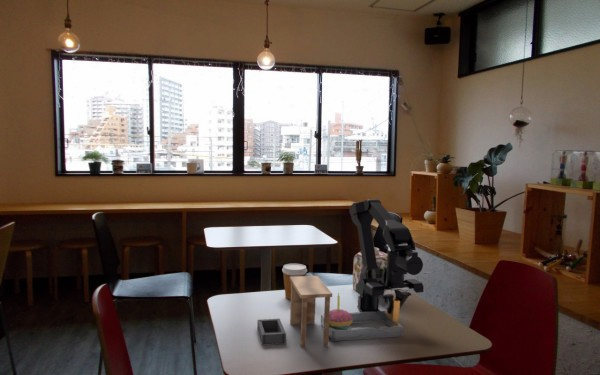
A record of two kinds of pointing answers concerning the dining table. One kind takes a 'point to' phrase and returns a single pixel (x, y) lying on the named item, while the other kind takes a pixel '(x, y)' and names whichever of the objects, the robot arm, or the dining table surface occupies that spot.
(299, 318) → the small wooden table
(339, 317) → the cupcake
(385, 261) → the decorative jar
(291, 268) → the disposable coffee cup
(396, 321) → the grey shallow tray
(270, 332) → the box
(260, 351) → the dining table surface
